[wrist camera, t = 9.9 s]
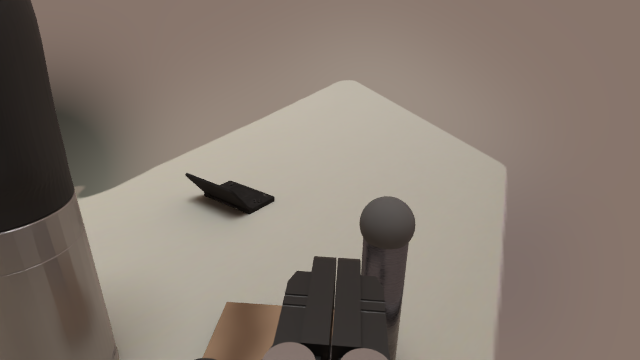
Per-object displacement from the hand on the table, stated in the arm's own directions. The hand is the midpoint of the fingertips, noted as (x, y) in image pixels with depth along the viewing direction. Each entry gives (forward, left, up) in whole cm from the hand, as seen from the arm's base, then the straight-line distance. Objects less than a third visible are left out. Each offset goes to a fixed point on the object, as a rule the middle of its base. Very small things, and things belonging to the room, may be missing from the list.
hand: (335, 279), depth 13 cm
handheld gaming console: (-19, +47, -23) cm, 56 cm away
